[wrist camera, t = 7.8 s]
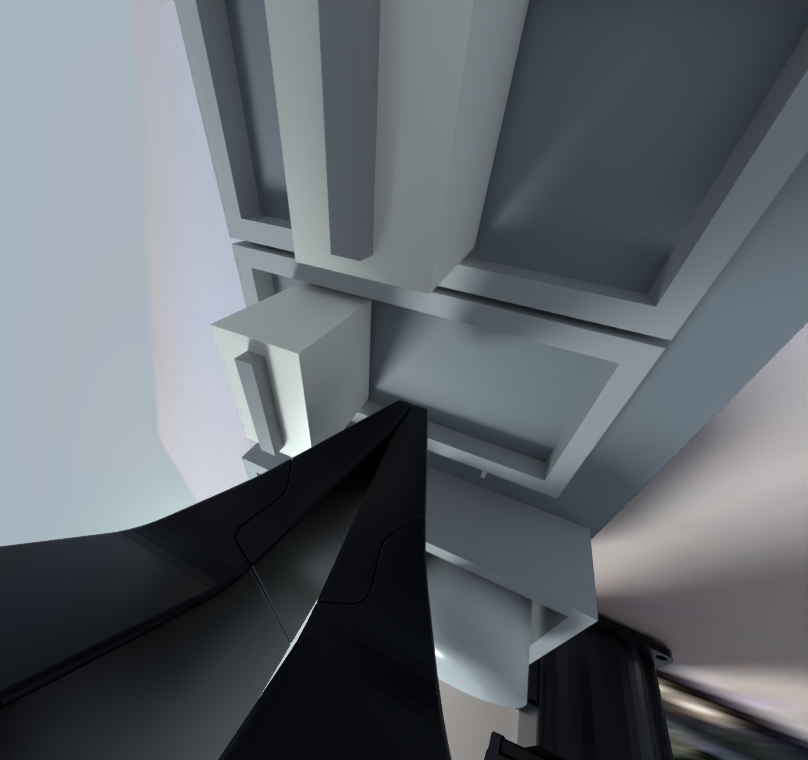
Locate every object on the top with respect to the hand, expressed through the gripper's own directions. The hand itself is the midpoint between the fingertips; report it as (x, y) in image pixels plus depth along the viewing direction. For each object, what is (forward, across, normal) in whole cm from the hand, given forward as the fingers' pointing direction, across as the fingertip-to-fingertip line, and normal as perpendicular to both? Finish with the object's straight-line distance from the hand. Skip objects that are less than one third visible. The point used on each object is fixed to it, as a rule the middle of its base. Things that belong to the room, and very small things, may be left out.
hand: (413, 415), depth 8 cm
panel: (+4, 0, +1) cm, 4 cm away
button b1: (0, -4, +8) cm, 9 cm away
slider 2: (+2, +1, -6) cm, 6 cm away
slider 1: (+2, +4, 0) cm, 4 cm away
